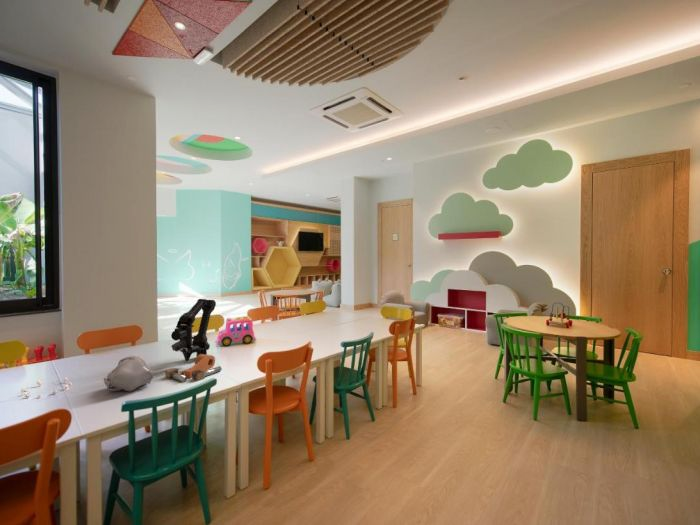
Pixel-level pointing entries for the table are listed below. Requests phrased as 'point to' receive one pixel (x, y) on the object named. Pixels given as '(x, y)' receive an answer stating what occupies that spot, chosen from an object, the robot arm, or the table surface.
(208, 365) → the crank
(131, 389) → the grey rock
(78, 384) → the table surface
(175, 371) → the hex bolt
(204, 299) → the robot arm
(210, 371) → the shaft
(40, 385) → the game piece set
